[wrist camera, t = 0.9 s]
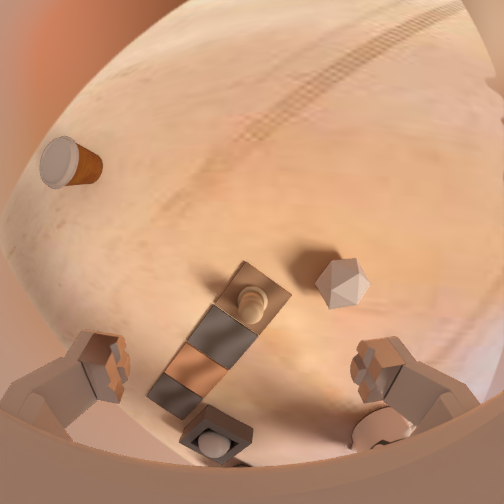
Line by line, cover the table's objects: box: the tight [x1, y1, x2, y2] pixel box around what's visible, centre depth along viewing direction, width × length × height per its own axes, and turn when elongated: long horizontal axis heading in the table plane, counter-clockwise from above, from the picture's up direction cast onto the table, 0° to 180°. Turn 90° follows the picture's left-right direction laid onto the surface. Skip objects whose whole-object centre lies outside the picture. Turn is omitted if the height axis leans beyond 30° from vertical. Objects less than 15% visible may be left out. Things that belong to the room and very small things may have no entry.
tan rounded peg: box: [238, 286, 268, 324], centre depth 44 cm, size 5×5×8 cm
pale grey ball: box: [198, 430, 231, 458], centre depth 49 cm, size 7×7×7 cm
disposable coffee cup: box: [40, 136, 103, 189], centre depth 41 cm, size 10×10×12 cm
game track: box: [146, 262, 292, 420], centre depth 51 cm, size 10×40×1 cm, turn 144°
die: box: [315, 258, 371, 309], centre depth 44 cm, size 8×9×10 cm
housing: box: [179, 405, 253, 464], centre depth 51 cm, size 12×12×5 cm
